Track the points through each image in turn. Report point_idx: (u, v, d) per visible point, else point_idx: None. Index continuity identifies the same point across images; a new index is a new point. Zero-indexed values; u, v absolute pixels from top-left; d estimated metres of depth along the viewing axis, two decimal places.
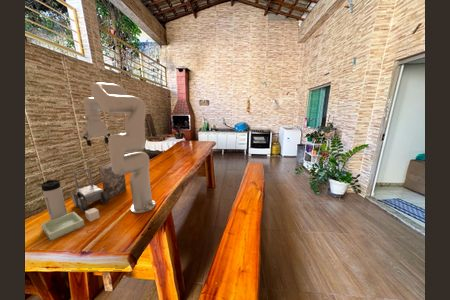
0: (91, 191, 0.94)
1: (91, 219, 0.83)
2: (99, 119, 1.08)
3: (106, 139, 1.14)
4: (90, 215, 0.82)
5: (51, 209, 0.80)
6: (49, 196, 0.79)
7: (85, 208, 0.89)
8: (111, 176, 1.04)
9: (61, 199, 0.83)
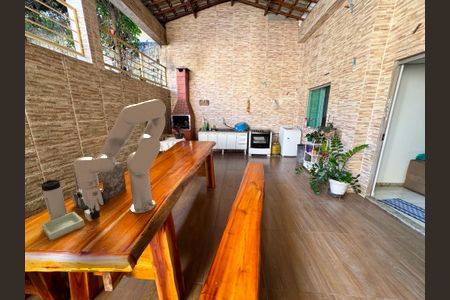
0: None
1: (91, 219, 0.83)
2: None
3: (97, 211, 0.84)
4: None
5: (51, 209, 0.80)
6: (49, 196, 0.79)
7: (85, 208, 0.89)
8: (111, 176, 1.04)
9: (61, 199, 0.83)
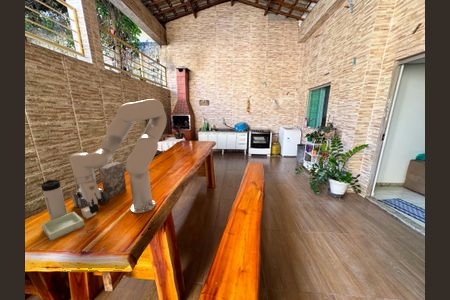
0: None
1: (88, 216, 0.85)
2: None
3: None
4: (87, 212, 0.85)
5: (51, 209, 0.80)
6: (49, 196, 0.79)
7: None
8: (111, 176, 1.04)
9: (61, 199, 0.83)
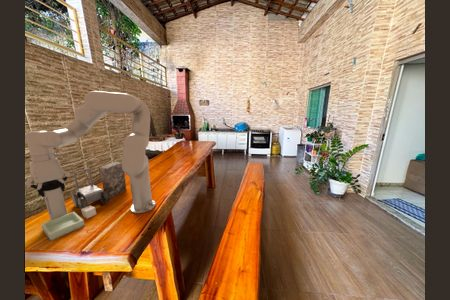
0: (91, 191, 0.94)
1: (88, 216, 0.85)
2: None
3: None
4: (87, 212, 0.85)
5: (51, 209, 0.80)
6: (49, 196, 0.79)
7: None
8: (111, 176, 1.04)
9: (61, 199, 0.83)
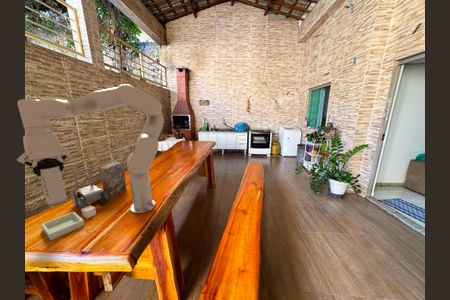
0: (91, 191, 0.94)
1: (88, 216, 0.85)
2: None
3: None
4: (87, 212, 0.85)
5: (49, 190, 0.71)
6: (45, 176, 0.70)
7: None
8: (111, 176, 1.04)
9: (60, 180, 0.73)
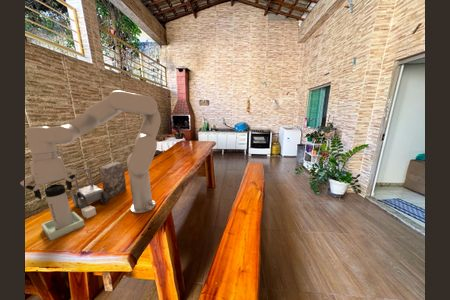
0: (91, 191, 0.94)
1: (88, 216, 0.85)
2: None
3: None
4: (87, 212, 0.85)
5: (56, 216, 0.74)
6: (53, 203, 0.72)
7: None
8: (111, 176, 1.04)
9: (66, 205, 0.76)
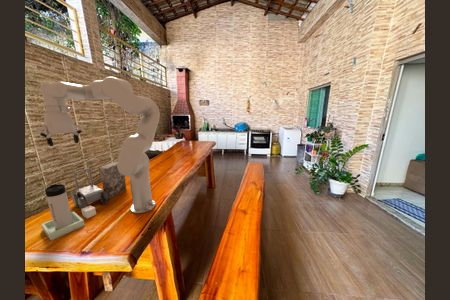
0: (91, 191, 0.94)
1: (88, 216, 0.85)
2: None
3: None
4: (87, 212, 0.85)
5: (56, 216, 0.74)
6: (53, 202, 0.72)
7: None
8: (111, 176, 1.04)
9: (67, 205, 0.76)
